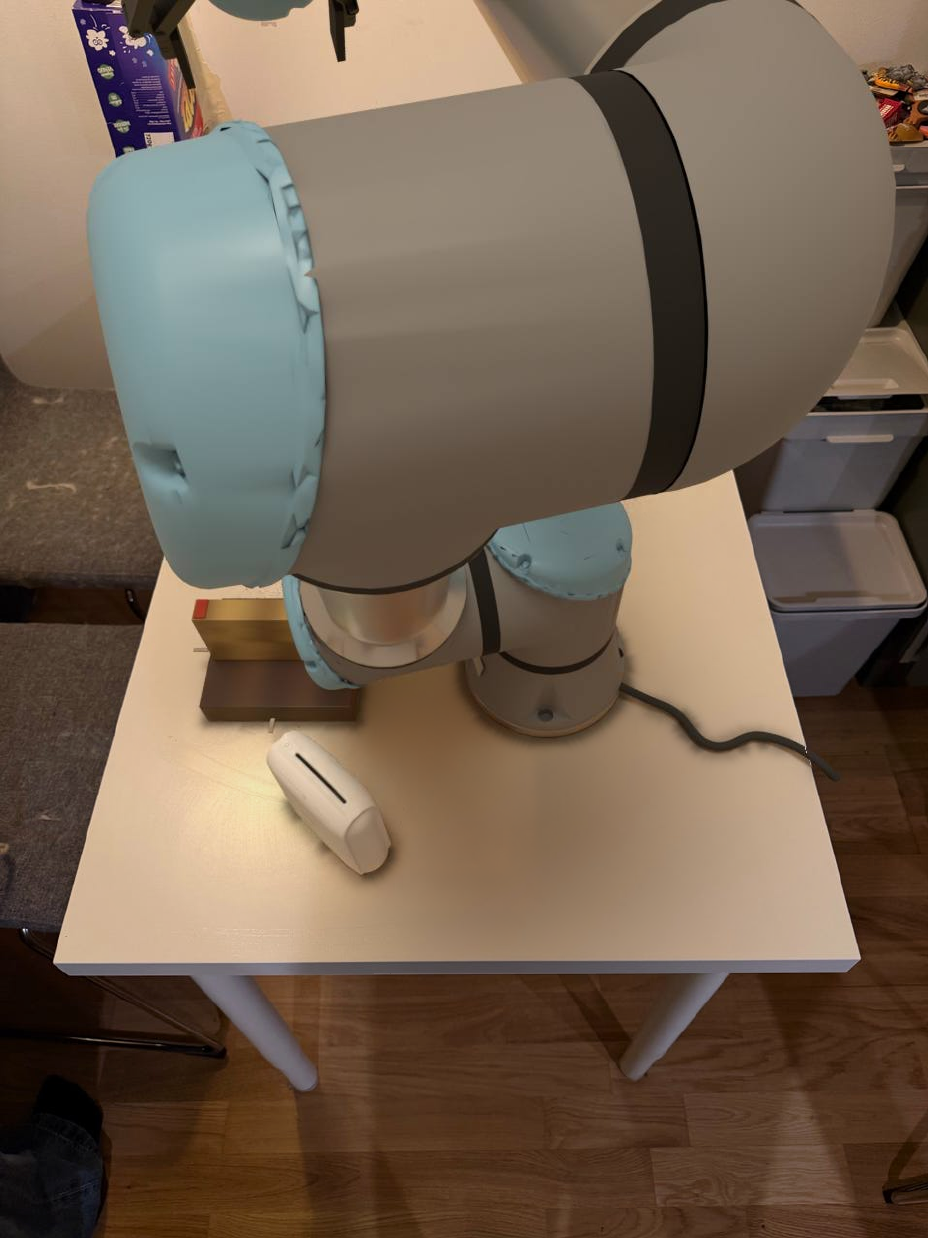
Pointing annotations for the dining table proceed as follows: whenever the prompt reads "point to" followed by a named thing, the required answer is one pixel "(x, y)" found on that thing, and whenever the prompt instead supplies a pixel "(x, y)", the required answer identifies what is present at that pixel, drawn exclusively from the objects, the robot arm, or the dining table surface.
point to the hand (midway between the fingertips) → (263, 60)
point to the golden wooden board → (245, 629)
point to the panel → (271, 692)
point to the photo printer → (330, 801)
